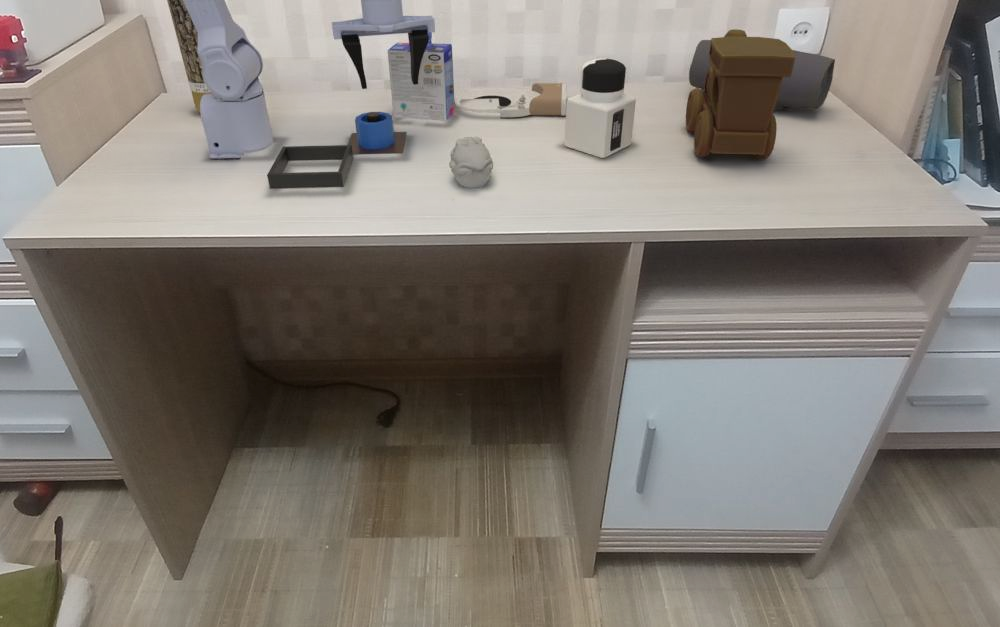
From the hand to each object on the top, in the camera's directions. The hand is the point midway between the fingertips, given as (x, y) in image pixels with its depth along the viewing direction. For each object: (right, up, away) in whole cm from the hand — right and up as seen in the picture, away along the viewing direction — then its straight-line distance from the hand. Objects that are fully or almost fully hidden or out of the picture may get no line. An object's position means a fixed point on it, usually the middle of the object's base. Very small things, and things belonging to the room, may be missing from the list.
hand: (389, 84), depth 106 cm
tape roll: (-3, -8, +5) cm, 9 cm away
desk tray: (-10, -15, -4) cm, 19 cm away
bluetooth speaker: (+62, +3, +21) cm, 66 cm away
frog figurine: (+13, -17, -6) cm, 22 cm away
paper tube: (-35, +2, +21) cm, 40 cm away
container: (+32, -8, +6) cm, 34 cm away
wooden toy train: (+52, -8, +5) cm, 53 cm away
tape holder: (-3, -8, +5) cm, 10 cm away
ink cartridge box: (+4, -1, +16) cm, 17 cm away
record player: (+18, +3, +21) cm, 28 cm away
